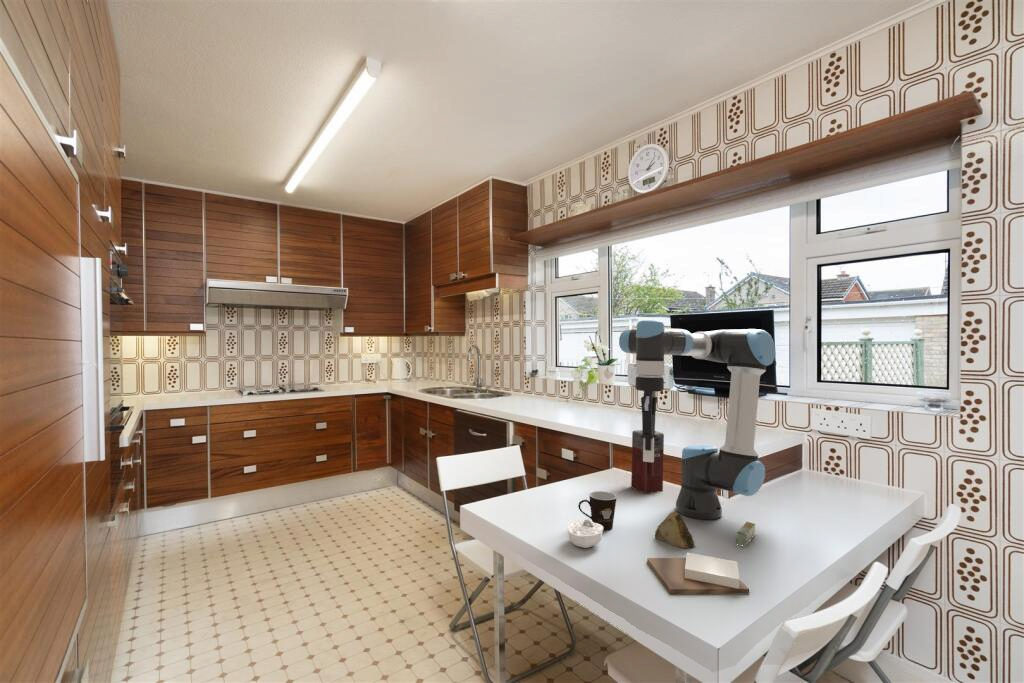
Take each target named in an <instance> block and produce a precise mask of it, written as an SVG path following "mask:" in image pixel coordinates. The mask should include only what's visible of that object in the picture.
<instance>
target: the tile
mask: <svg viewBox="0 0 1024 683" xmlns="http://www.w3.org/2000/svg"><path fill="white" fill-rule="evenodd" d="M685 558H686V564H685V578H686V579H691V580H696V581H701V582H706V583H711V584H716V585H721V586H726V587H731V588H736V589H739V580H740V574H739V567H738V561H737V560H730V559H725V558H718V557H714V556H709V555H704V554H703V555H702V554H697V553H694V552H693V553H691V552H686V557H685Z"/></svg>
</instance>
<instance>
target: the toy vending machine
mask: <svg viewBox="0 0 1024 683" xmlns="http://www.w3.org/2000/svg"><path fill="white" fill-rule="evenodd" d="M642 434H643V432H642V429H637V430H633V431H632V435H631V436H632V437H631V442H632V443H631V482H630V483H631V484H630V487H631V488H632V487H633V488H632V489H634V488H635V490H636V489H637V491H639V490H640V491H639V492H641V491H642V492H641V493H643V492H644V494H646V493H647V494H652V493H651V492H653V493H658V492H657V491H660V492H663V491H664V454H665V453H664V452H665V451H664V450H665V449H664V445H665V444H664V442H665V435H664V433H663V432H661V431H657V430H655V434H654V435H657V437H653V438H654V462H644V461H643V438H641V435H642Z"/></svg>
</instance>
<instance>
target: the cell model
mask: <svg viewBox="0 0 1024 683" xmlns="http://www.w3.org/2000/svg"><path fill="white" fill-rule="evenodd" d="M603 528H604V527H603V526H602V525H600V524H598V523H594V522H592V520H591V519H590V518H589V519H588V518H587V519H585V520H578V521H574V522H571V523H569V524H568V525H567V534H568V536H567V537H568V540H569V541H570V542H571V543H572V544H573V545H575V546H576V547H578V548H579V547H580V548H584V549H589V548H590V547H594V546H597V545H599V544H600V542H601V541H602V538H603V533H604V531H603Z"/></svg>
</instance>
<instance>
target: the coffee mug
mask: <svg viewBox="0 0 1024 683" xmlns="http://www.w3.org/2000/svg"><path fill="white" fill-rule="evenodd" d="M588 495H589V500H587V499H582V500H581V501H579V503H578V505H577V506H578V510H579V511H580V512H581V513H582V514H583V515H584V516H586V517H588V518H589V519H590V520H591V521H592V522H594V523H598V524H600V525H602V526H603V527H604V528H603V530H605V531H604V532H607V530H608V531H611V530H613V526H614V519H615V512H616V503H617V497H618V496H617V495H616V494H614V493H613V492H609V491H599V490H598V491H597V490H596V491H591V492H590V493H589V494H588ZM583 503H587V504H588V505H589V507H590V515H589V514H588V513H587V512H584V511H583V510H582V509H581V505H582V504H583Z"/></svg>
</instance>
